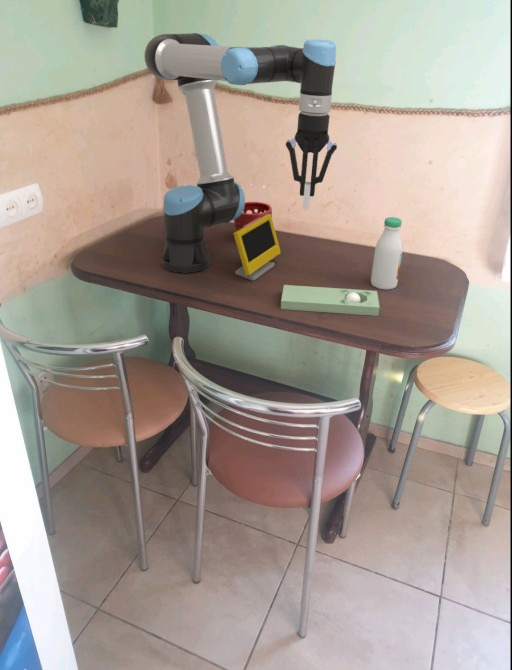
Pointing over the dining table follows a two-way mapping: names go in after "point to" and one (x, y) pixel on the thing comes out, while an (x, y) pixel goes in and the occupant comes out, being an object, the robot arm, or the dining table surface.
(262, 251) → the yellow framed monitor
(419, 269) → the dining table surface
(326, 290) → the putting strip
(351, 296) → the ball
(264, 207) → the plant pot
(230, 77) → the robot arm
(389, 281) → the milk bottle
